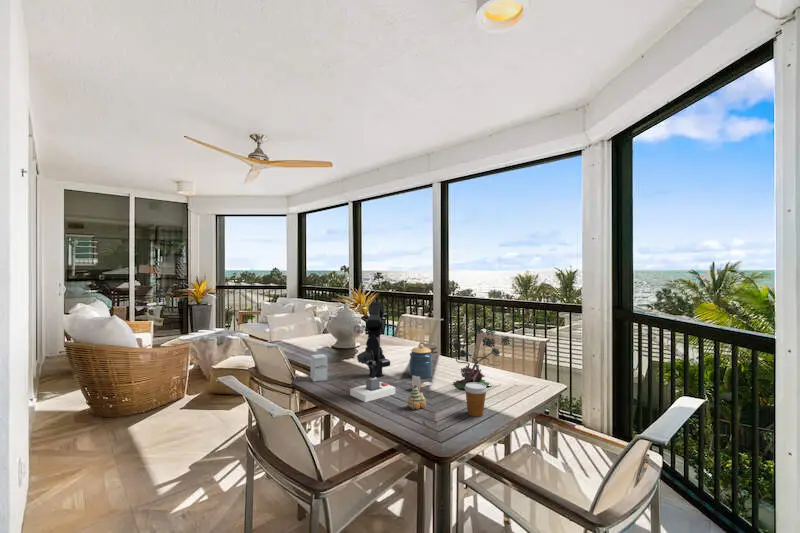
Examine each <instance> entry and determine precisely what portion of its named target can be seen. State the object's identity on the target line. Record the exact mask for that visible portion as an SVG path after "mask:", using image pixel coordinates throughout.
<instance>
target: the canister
mask: <svg viewBox="0 0 800 533" xmlns="http://www.w3.org/2000/svg"><path fill="white" fill-rule="evenodd" d="M410 350H411V352H410V353H409V357H410V359H409V371H408V372H409V376H410V377H411V378H412V375H413V376H416V377H418V376H420V377H419V378H420V379H430V378H431V377H432V376H433V359H432V358H433V355H434V354H433V353H432V350H431V349H430V347H428V346H427V347H426V346H424V344H423V343H420V344H419V345H418V346H414V347H413V348H411V349H410Z"/></svg>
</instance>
